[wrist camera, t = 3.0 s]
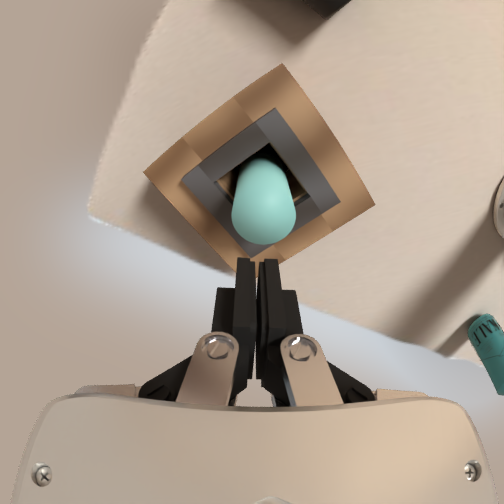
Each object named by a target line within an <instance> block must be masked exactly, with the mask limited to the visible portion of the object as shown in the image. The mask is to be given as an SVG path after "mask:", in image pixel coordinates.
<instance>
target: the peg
mask: <svg viewBox="0 0 504 504" xmlns="http://www.w3.org/2000/svg"><path fill="white" fill-rule="evenodd" d="M295 220H296V211H295V207H294V203H293V199H292V196H291V192H290V189H289V185H288V182H287V179H286V175H285V172H284V168H283V166H282V164H281V162H280V161H279V160H278V159H277V158H276V157H275V156H273V155H271V154H268V153H256V154H253V155H251V156H250V157H248V158H247V159H245V160H244V162H243V163H242V165H241V167H240V171H239V176H238V181H237V187H236V192H235V197H234V203H233V208H232V223H233V226H234V228H235V230H236V231H237V232H238V234H239V235H240V236H241V237H243V238H244V239H245V240H247V241H249V242H252V243H255V244H262V245H265V244H272V243H275V242H278V241H280V240H282V239H283V238H285V237H286V236H287V235H288V234H289V233H290V231H291V230H292V228H293V226H294V224H295Z"/></svg>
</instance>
